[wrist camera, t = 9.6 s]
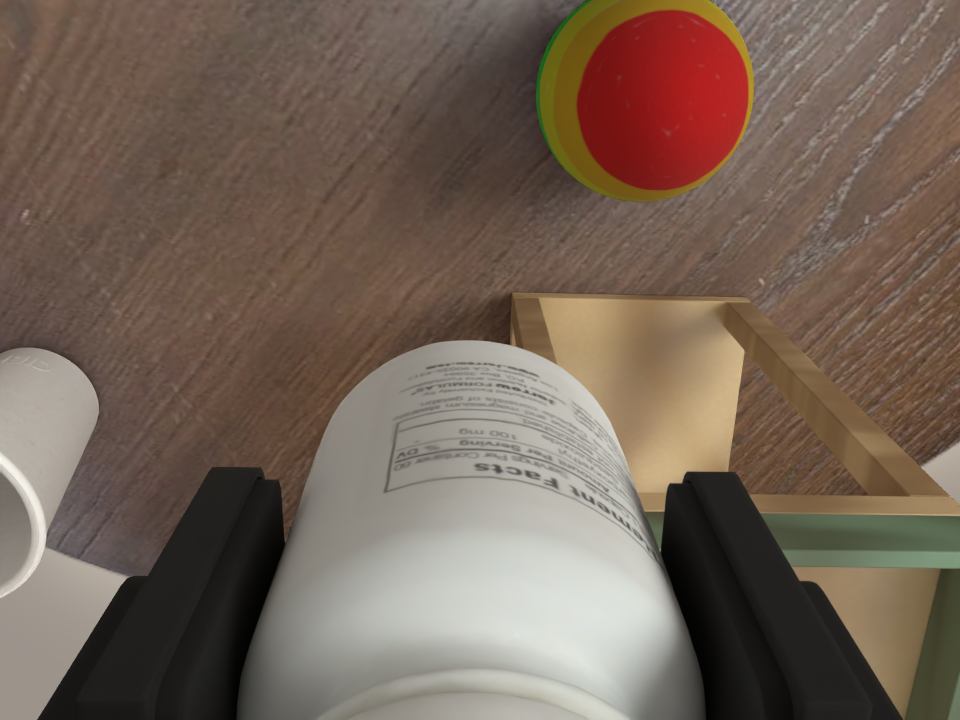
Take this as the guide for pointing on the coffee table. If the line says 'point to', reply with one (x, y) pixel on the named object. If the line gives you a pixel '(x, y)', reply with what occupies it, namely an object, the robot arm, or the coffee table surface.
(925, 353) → the coffee table surface
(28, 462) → the dixie cup
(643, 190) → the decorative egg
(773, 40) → the coffee table surface
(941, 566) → the box
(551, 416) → the pill bottle
